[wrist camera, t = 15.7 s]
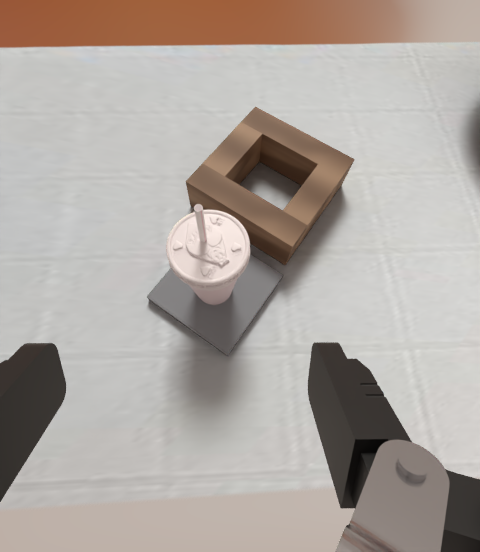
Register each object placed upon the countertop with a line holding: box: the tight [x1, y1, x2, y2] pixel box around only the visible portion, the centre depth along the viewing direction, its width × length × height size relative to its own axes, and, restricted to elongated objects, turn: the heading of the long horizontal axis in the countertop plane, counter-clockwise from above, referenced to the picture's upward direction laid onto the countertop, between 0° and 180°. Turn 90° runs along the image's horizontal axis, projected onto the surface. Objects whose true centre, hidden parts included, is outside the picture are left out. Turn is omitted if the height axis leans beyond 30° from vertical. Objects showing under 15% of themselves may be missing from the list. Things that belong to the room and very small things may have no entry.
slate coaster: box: [147, 254, 283, 356], centre depth 34 cm, size 10×10×1 cm
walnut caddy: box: [186, 107, 354, 265], centre depth 37 cm, size 13×13×4 cm
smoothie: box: [166, 204, 250, 305], centre depth 27 cm, size 6×6×14 cm
